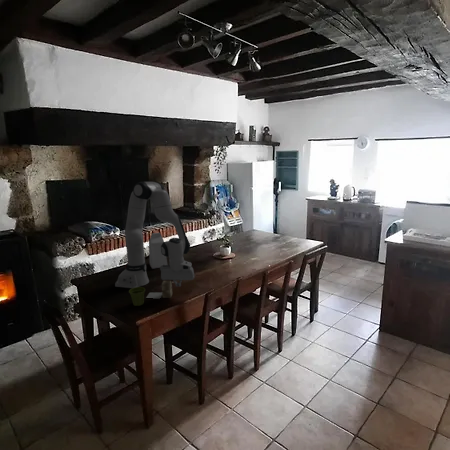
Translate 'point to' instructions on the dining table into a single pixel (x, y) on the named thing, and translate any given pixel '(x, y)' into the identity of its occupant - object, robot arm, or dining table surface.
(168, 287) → the beech block
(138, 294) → the plant pot
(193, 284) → the dining table surface
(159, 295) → the grey mat
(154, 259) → the milk
